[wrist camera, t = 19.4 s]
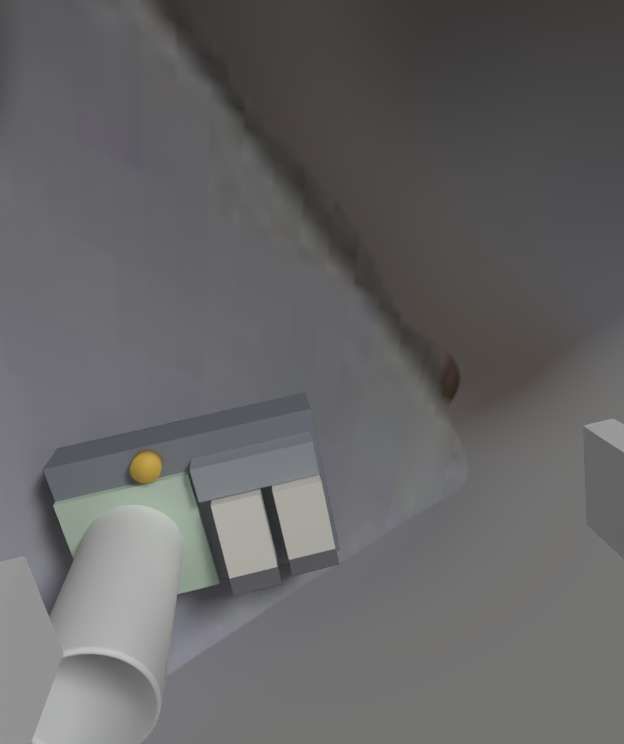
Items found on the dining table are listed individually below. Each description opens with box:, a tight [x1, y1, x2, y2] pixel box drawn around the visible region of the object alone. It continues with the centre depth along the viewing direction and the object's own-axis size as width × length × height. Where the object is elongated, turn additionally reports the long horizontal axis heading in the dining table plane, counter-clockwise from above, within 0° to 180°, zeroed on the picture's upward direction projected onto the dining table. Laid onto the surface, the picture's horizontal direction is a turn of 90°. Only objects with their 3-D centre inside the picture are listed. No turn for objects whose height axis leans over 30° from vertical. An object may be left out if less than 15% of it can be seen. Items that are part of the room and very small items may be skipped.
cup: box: [31, 505, 184, 744], centre depth 41 cm, size 8×8×16 cm
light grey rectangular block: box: [211, 488, 282, 596], centre depth 48 cm, size 2×4×8 cm
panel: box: [43, 393, 340, 594], centre depth 50 cm, size 14×22×7 cm, turn 101°
